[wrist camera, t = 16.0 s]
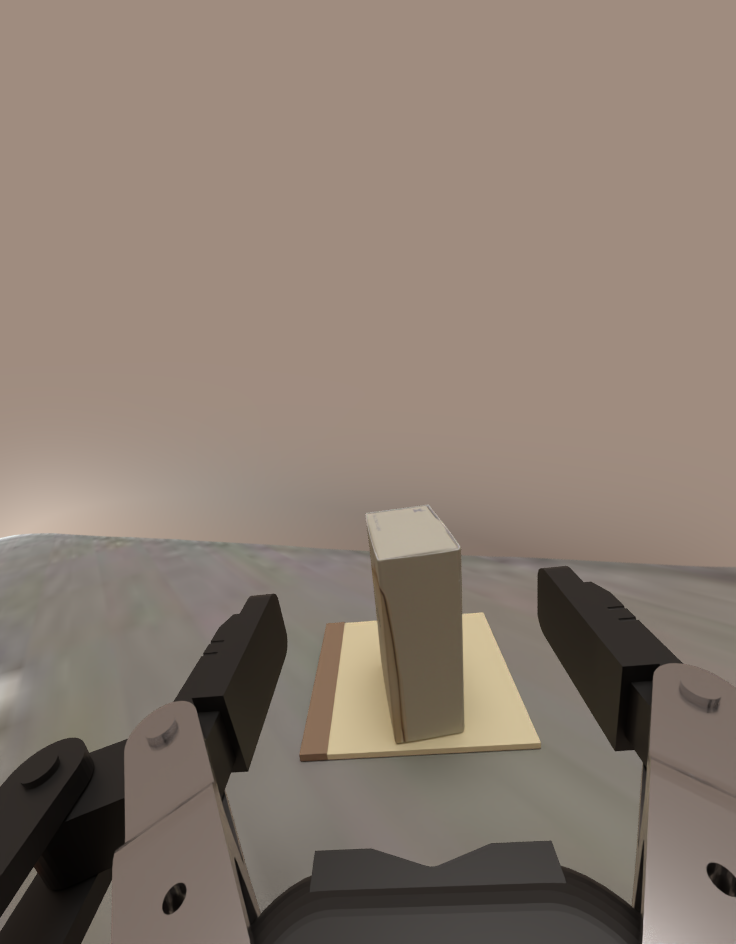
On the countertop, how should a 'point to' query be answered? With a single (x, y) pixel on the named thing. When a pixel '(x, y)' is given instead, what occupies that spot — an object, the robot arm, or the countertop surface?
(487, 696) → the notepad
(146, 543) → the countertop surface
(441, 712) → the skincare box
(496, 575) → the countertop surface
